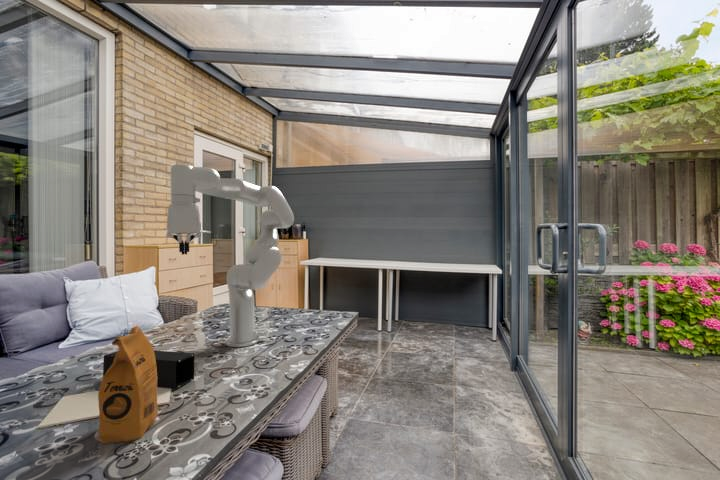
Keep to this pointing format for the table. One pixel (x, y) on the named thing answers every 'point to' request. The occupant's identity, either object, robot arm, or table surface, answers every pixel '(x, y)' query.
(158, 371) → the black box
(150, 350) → the coffee package
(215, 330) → the table surface
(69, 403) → the mat
